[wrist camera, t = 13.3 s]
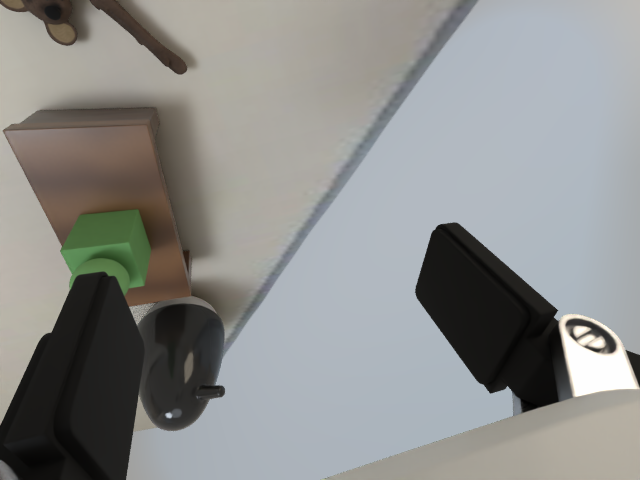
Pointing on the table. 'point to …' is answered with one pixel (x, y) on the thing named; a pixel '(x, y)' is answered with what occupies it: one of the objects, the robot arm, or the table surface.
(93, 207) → the bench
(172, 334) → the pump dispenser
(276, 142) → the table surface
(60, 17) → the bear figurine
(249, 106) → the table surface
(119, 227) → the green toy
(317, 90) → the table surface
